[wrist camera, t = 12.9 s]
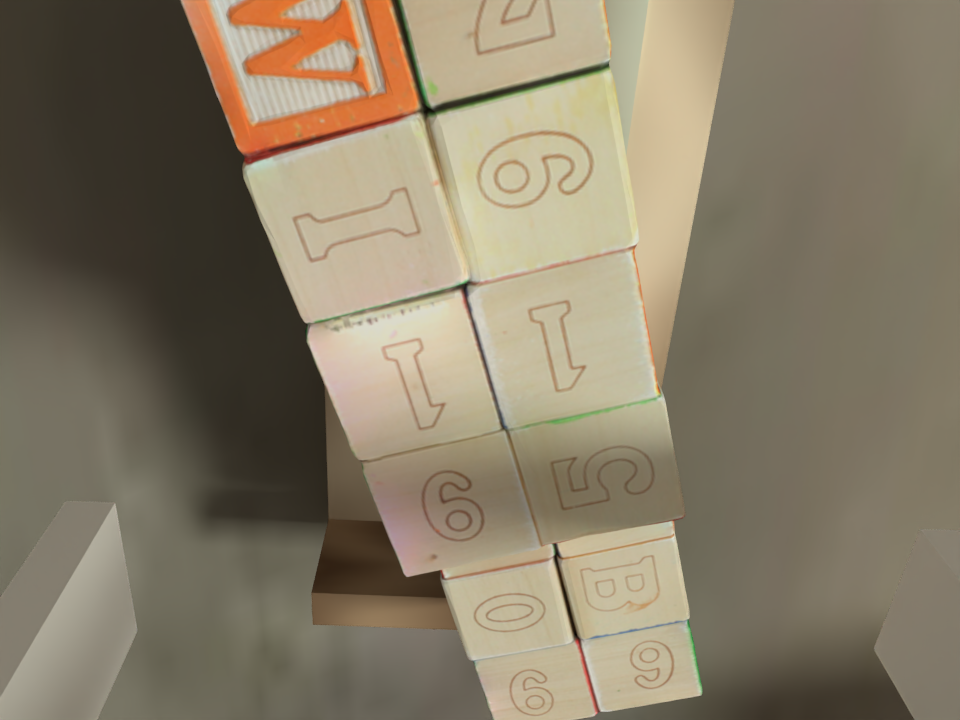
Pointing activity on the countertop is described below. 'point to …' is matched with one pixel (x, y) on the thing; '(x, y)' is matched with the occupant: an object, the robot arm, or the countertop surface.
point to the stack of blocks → (477, 318)
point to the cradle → (660, 261)
